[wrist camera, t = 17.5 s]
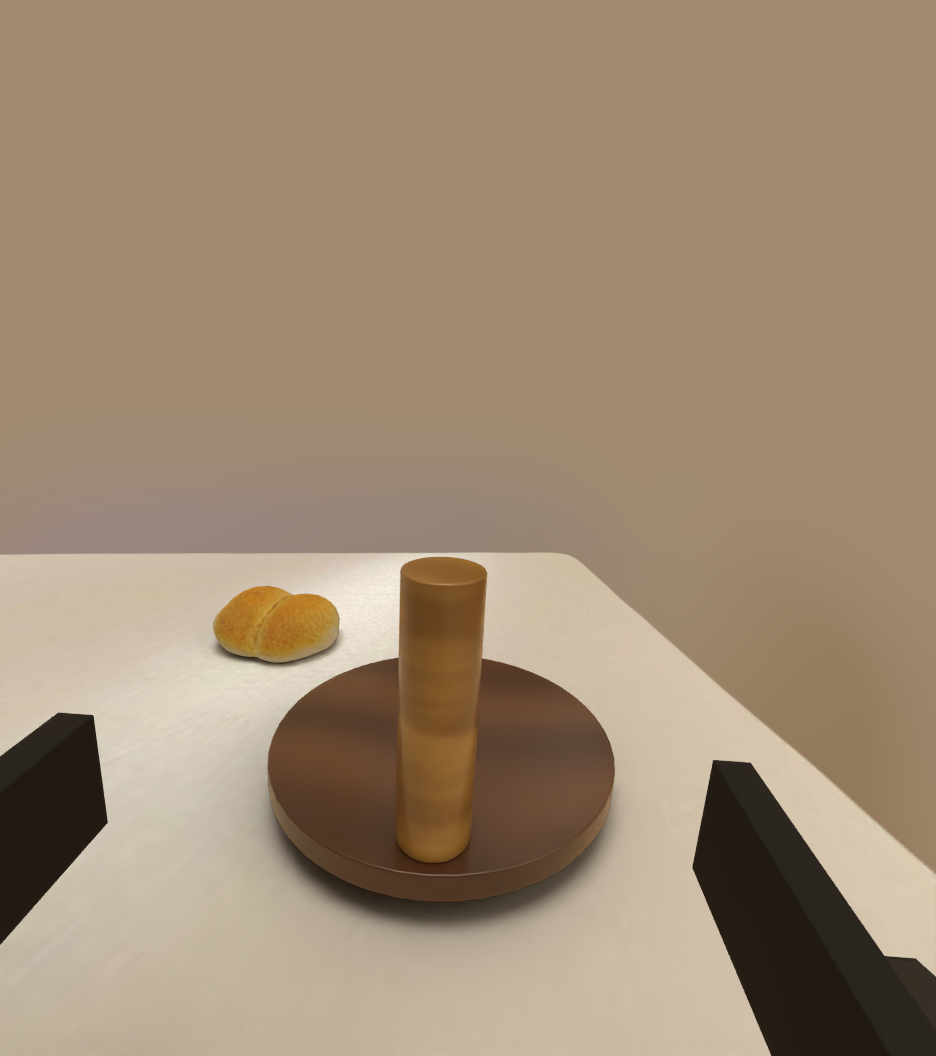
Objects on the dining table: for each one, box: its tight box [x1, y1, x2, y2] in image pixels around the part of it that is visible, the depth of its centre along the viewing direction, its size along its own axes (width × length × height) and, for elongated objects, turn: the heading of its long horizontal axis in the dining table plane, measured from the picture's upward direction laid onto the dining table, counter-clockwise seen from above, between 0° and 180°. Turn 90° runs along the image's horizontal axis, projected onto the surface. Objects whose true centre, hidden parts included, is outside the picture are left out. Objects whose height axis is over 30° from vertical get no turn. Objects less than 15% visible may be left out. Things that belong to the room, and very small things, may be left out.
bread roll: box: [213, 586, 339, 663], centre depth 42 cm, size 8×9×4 cm
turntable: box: [268, 557, 615, 901], centre depth 27 cm, size 17×17×12 cm
